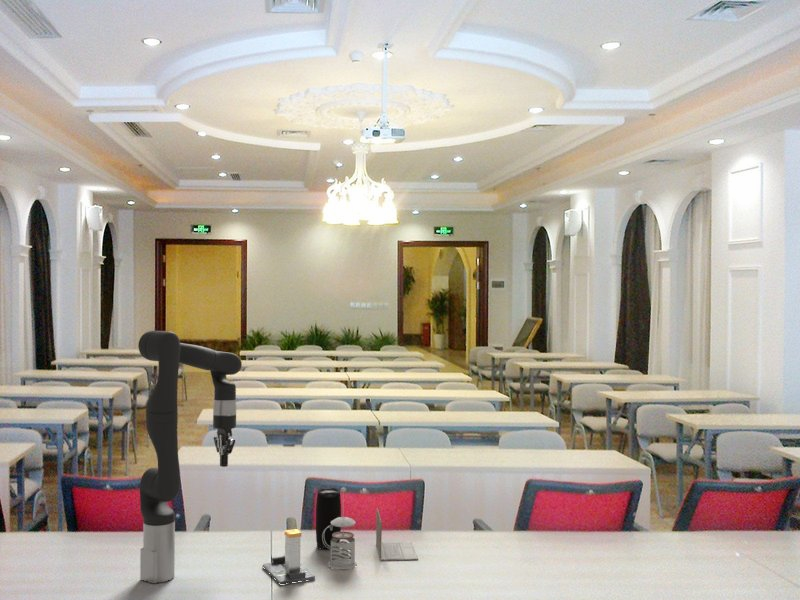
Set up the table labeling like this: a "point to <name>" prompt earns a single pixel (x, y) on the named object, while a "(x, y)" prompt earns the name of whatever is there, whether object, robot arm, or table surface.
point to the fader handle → (292, 551)
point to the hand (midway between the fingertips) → (223, 466)
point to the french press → (342, 543)
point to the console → (280, 574)
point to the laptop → (393, 546)
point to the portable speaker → (327, 515)
